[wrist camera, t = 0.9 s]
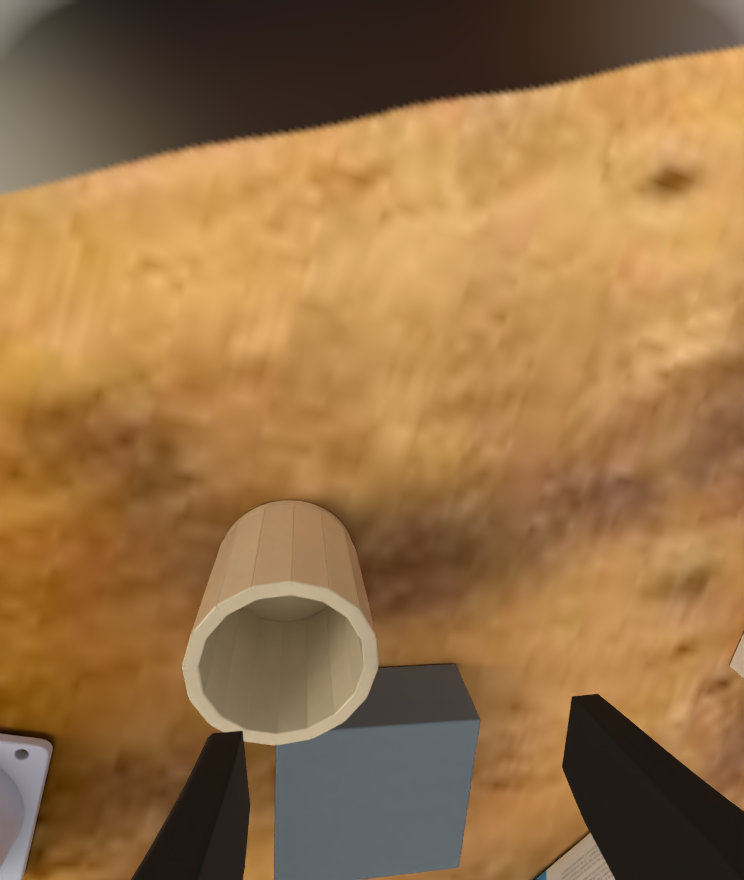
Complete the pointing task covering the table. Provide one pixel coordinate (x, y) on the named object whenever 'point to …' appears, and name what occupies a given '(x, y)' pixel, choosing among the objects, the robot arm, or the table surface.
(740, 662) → the white cube
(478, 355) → the table surface
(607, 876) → the ink box
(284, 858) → the riser block
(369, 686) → the cup
